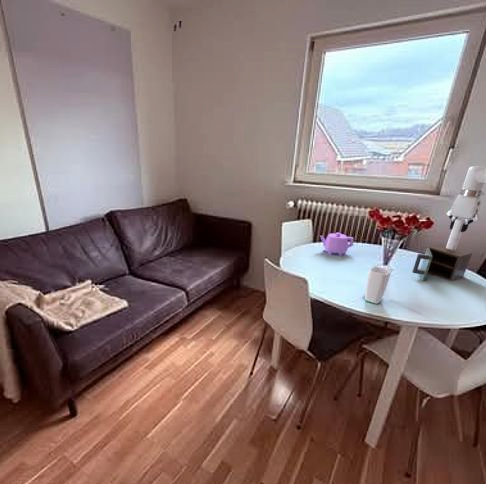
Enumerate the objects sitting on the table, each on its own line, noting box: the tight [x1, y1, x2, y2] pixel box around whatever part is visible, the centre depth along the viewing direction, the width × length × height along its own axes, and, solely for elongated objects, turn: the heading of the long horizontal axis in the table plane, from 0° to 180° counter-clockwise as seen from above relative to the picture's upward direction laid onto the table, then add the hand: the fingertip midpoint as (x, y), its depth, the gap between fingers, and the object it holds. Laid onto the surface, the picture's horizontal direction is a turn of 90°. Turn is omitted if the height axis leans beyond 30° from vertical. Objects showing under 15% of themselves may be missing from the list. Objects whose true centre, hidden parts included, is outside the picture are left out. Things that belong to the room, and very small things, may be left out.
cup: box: [364, 266, 392, 305], centre depth 136 cm, size 7×7×15 cm
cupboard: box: [427, 244, 473, 281], centre depth 163 cm, size 11×15×14 cm
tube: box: [445, 218, 465, 250], centre depth 157 cm, size 4×4×15 cm
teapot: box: [319, 232, 354, 256], centre depth 193 cm, size 20×12×13 cm, turn 77°
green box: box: [412, 247, 432, 282], centre depth 162 cm, size 6×15×14 cm, turn 153°
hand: (457, 230), depth 156 cm, fingers closed on tube, 4 cm apart
